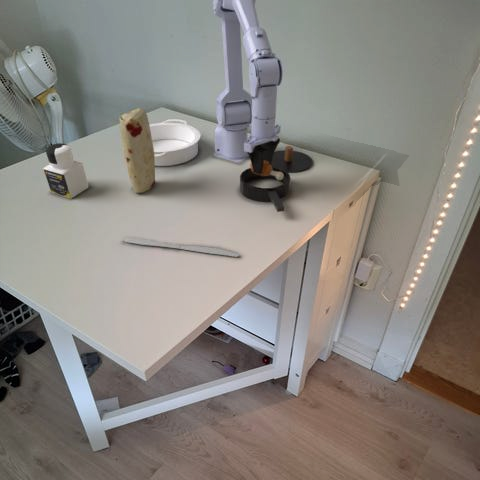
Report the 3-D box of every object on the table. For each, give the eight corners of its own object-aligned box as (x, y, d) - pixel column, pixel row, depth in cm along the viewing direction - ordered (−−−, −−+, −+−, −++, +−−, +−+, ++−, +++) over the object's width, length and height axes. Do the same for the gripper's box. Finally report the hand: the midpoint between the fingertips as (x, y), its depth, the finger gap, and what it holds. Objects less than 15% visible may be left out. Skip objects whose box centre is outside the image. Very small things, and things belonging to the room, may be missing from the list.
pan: (230, 194, 116) (230, 180, 113) (256, 175, 124) (256, 161, 121) (273, 208, 111) (274, 194, 108) (297, 187, 119) (299, 173, 116)
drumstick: (247, 174, 115) (247, 160, 112) (254, 169, 117) (255, 155, 115) (279, 183, 111) (280, 169, 109) (286, 178, 114) (287, 163, 111)
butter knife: (128, 234, 102) (122, 240, 99) (240, 251, 97) (237, 258, 95) (128, 236, 102) (123, 242, 100) (240, 253, 98) (237, 260, 95)
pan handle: (267, 194, 111) (267, 190, 111) (274, 193, 112) (274, 189, 111) (277, 212, 105) (277, 208, 104) (284, 211, 105) (284, 207, 105)
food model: (147, 198, 115) (134, 119, 101) (125, 194, 116) (109, 116, 102) (163, 181, 122) (153, 105, 108) (142, 178, 123) (129, 102, 109)
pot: (147, 131, 147) (145, 116, 144) (211, 136, 144) (210, 121, 141) (113, 169, 127) (110, 153, 124) (187, 175, 124) (186, 159, 121)
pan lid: (255, 167, 128) (255, 150, 124) (278, 149, 136) (279, 134, 133) (298, 179, 122) (300, 162, 119) (320, 160, 131) (322, 144, 127)
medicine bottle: (50, 193, 117) (36, 148, 109) (69, 181, 121) (57, 138, 113) (70, 199, 115) (57, 154, 106) (89, 187, 119) (78, 143, 111)
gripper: (262, 128, 99) (260, 184, 108) (292, 109, 107) (288, 162, 117) (236, 122, 101) (236, 177, 111) (267, 104, 110) (265, 156, 120)
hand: (261, 169), depth 114 cm, fingers closed on drumstick, 4 cm apart
